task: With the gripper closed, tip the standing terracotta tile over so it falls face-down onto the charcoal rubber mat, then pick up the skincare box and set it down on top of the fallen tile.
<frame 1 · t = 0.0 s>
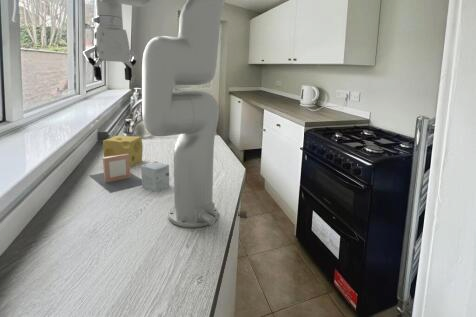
hand: (113, 80, 100), 31 cm above the worktop, tool pointing down, fingers open, 9 cm apart
tile: (117, 179, 99), resting on mat
cheese: (123, 164, 116), on the worktop
mat: (117, 180, 99), on the worktop
skincare box: (155, 187, 96), on the worktop
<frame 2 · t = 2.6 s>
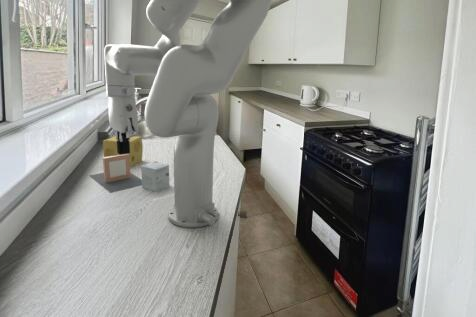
hand: (123, 153, 92), 11 cm above the worktop, tool pointing down, fingers closed
nothing on the worktop moved.
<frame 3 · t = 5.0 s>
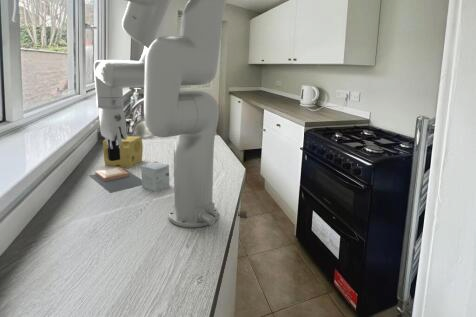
hand: (114, 159, 98), 7 cm above the worktop, tool pointing down, fingers closed
tile: (116, 177, 99), point 1 cm above the worktop, tilted 90°, touching mat
everything else where it was.
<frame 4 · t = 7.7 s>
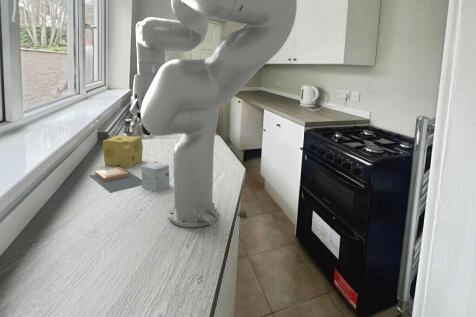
hand: (153, 133, 90), 17 cm above the worktop, tool pointing down, fingers open, 3 cm apart
nothing on the worktop moved.
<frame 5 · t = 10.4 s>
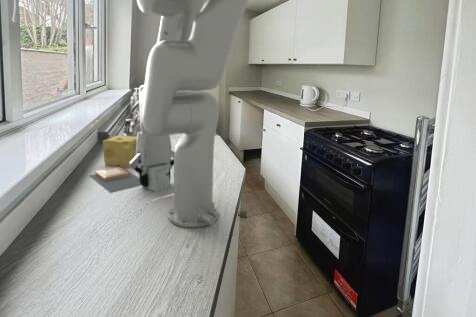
hand: (155, 182, 95), 1 cm above the worktop, tool pointing down, fingers closed on skincare box, 7 cm apart
skincare box: (156, 187, 96), on the worktop, touching gripper
everything else where it was.
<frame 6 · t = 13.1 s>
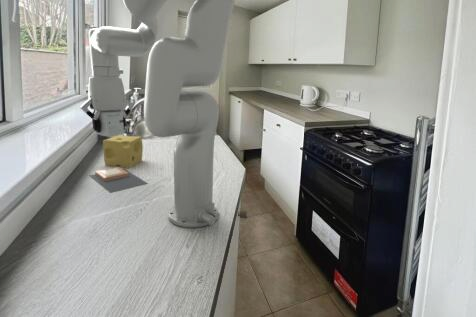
hand: (110, 130, 97), 16 cm above the worktop, tool pointing down, fingers closed on skincare box, 7 cm apart
skincare box: (110, 134, 98), point 14 cm above the worktop, touching gripper
everything else where it was.
when the fingers open (4 cm above the worktop, at t = 15.8 s): skincare box drops 1 cm, resting on tile.
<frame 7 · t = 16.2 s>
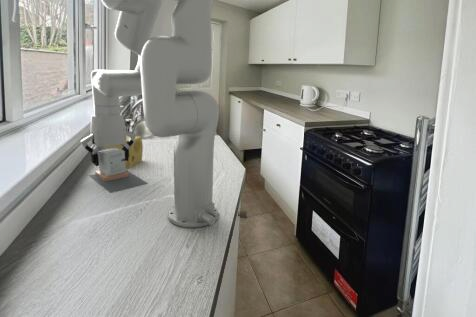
hand: (111, 162, 101), 5 cm above the worktop, tool pointing down, fingers open, 9 cm apart
tile: (116, 177, 99), point 1 cm above the worktop, tilted 90°, touching skincare box, mat
skincare box: (112, 172, 102), point 1 cm above the worktop, touching tile
everything else where it was.
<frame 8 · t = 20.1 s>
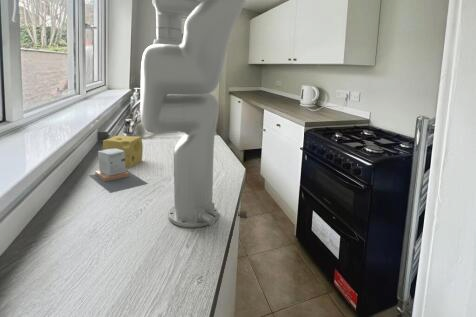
hand: (170, 92, 99), 28 cm above the worktop, tool pointing down, fingers open, 9 cm apart
nothing on the worktop moved.
at the end: tile tilted 90°; skincare box inside the target area (0.7 cm from its centre), point 1.5 cm above the worktop; skincare box tilted 0° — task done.
